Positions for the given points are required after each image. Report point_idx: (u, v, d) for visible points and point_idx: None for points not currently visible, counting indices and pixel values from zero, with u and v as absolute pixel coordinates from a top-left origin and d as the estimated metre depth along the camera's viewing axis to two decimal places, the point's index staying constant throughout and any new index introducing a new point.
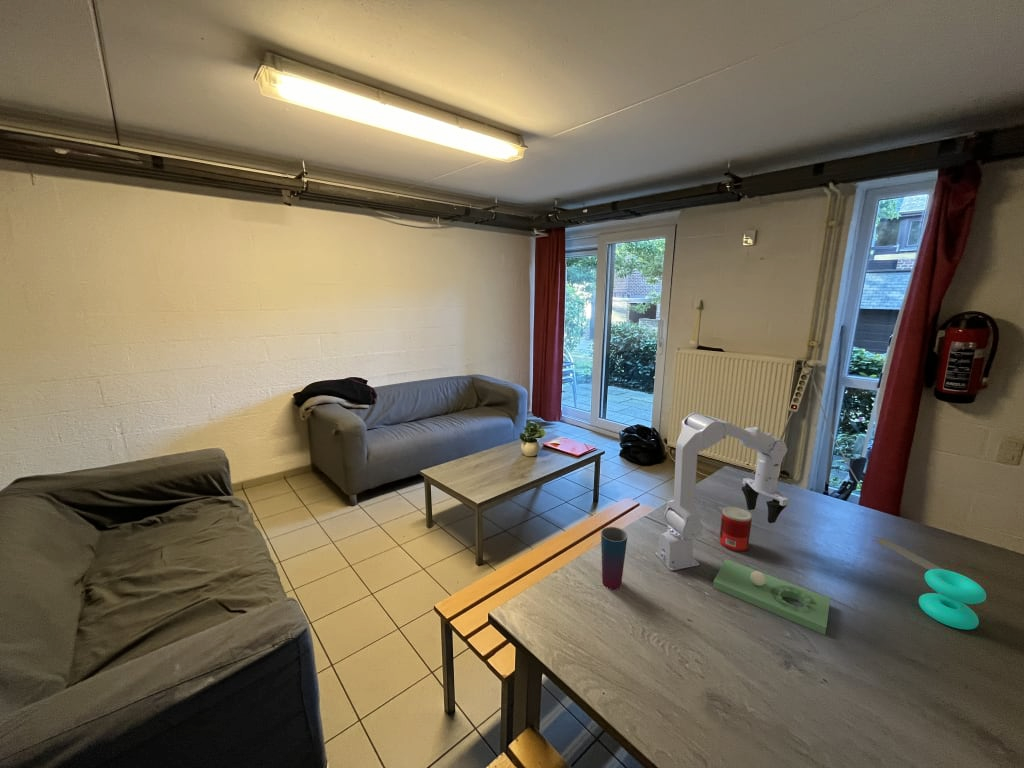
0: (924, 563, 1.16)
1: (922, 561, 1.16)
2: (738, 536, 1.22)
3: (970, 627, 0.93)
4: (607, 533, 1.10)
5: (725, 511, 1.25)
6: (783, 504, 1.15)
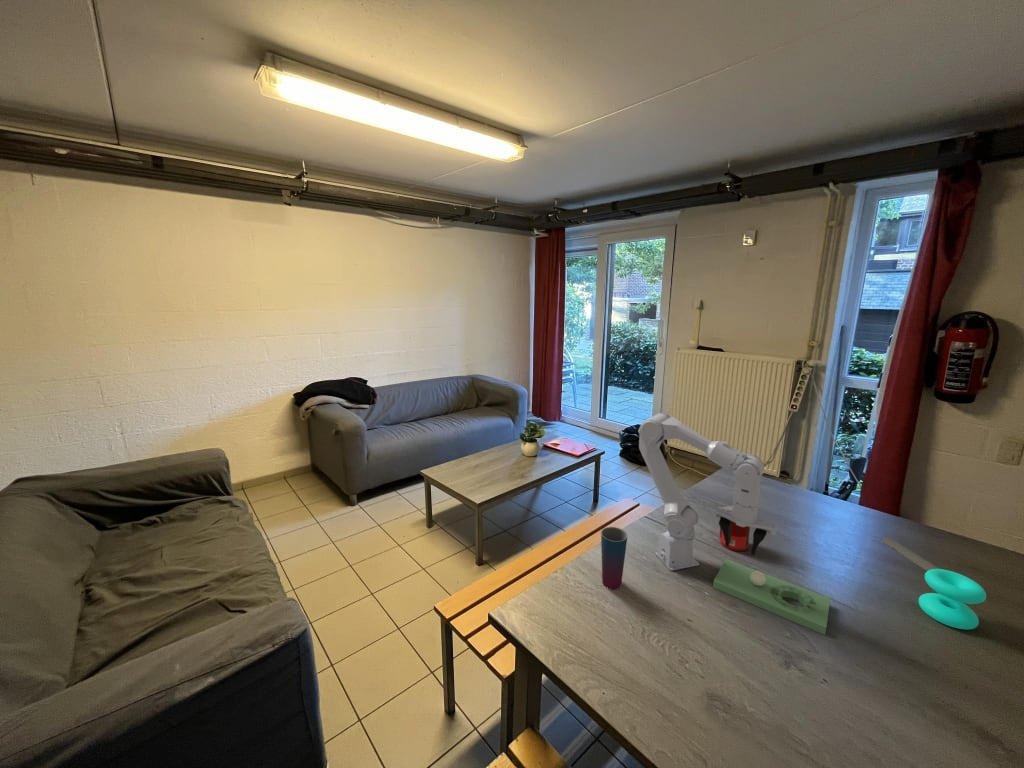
0: (922, 562, 1.16)
1: (920, 561, 1.16)
2: (737, 535, 1.22)
3: (970, 627, 0.93)
4: (607, 533, 1.10)
5: None
6: None
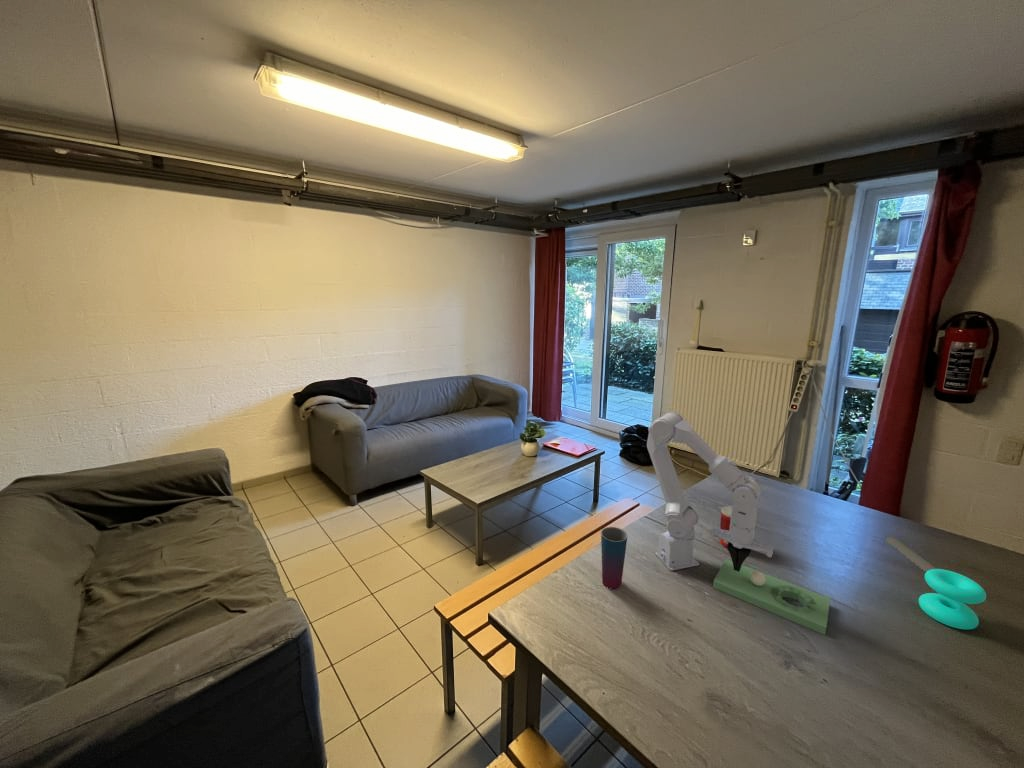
0: (920, 562, 1.16)
1: (919, 560, 1.17)
2: None
3: (970, 627, 0.93)
4: (607, 533, 1.10)
5: (724, 510, 1.26)
6: None
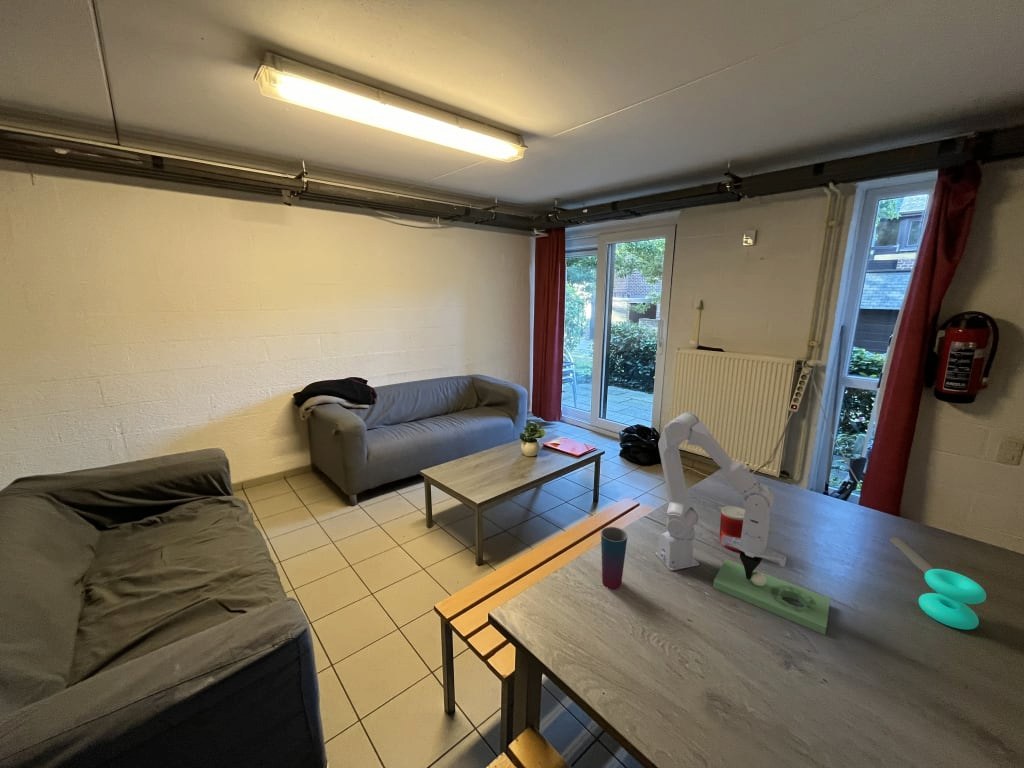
0: (918, 562, 1.16)
1: (918, 560, 1.17)
2: (736, 535, 1.22)
3: (970, 627, 0.93)
4: (607, 533, 1.10)
5: (724, 510, 1.26)
6: None
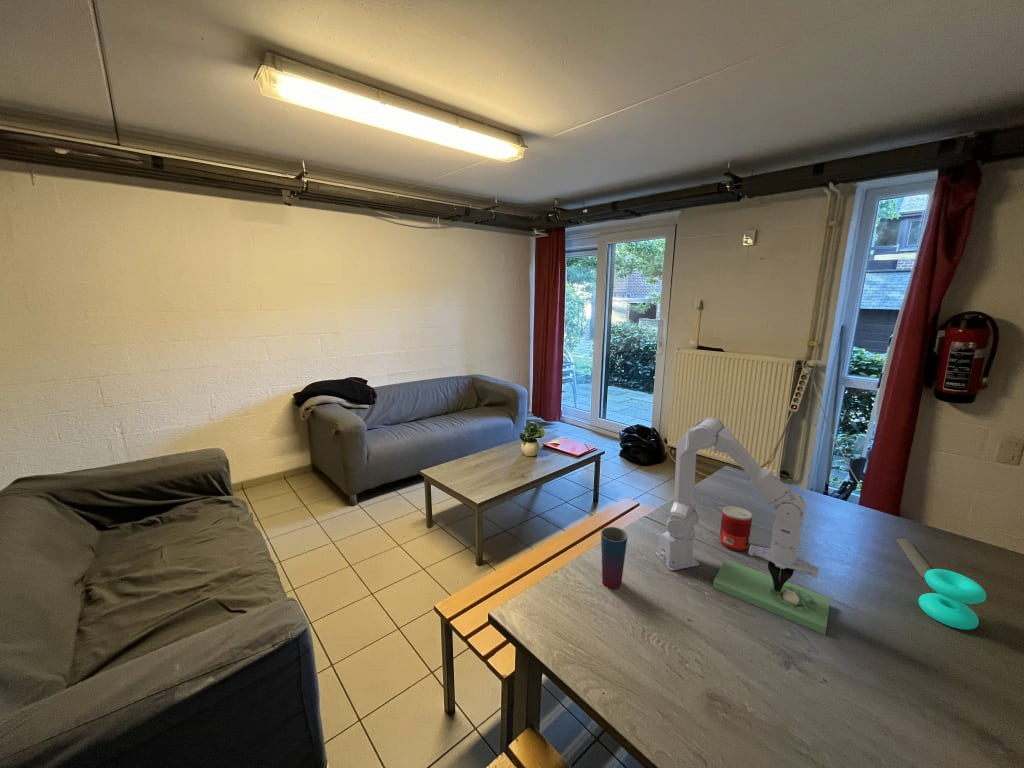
0: (915, 561, 1.17)
1: (916, 559, 1.17)
2: (736, 535, 1.22)
3: (970, 627, 0.93)
4: (607, 533, 1.10)
5: (725, 509, 1.26)
6: None
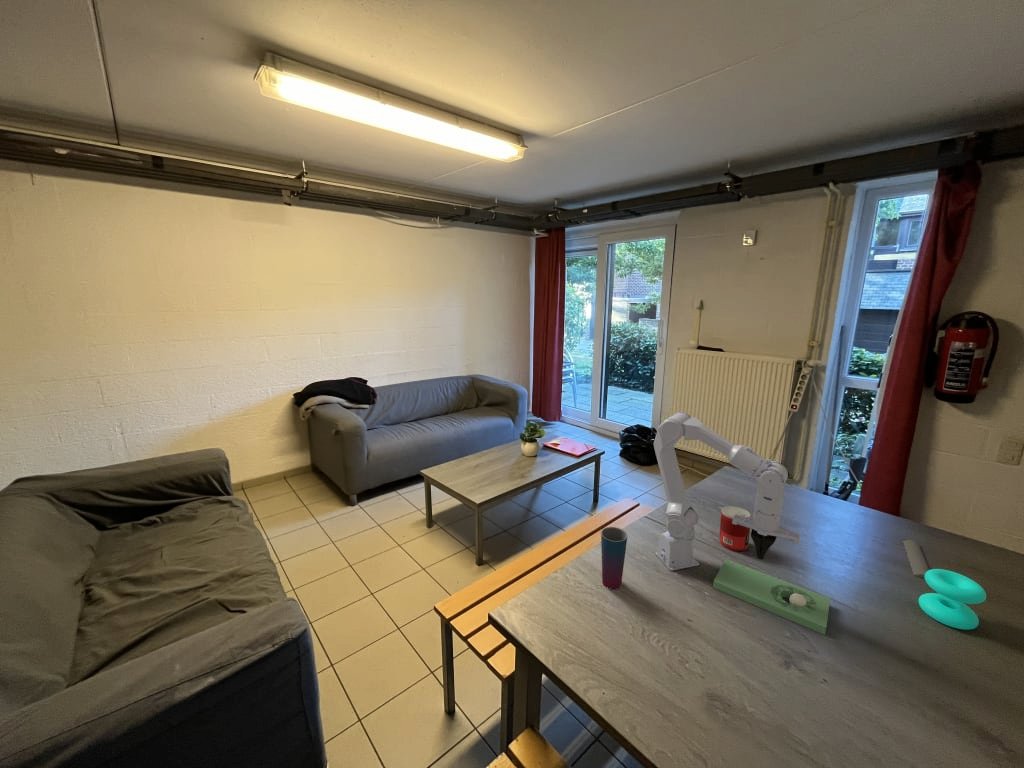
0: (913, 560, 1.17)
1: (914, 559, 1.17)
2: (735, 535, 1.22)
3: (970, 627, 0.93)
4: (607, 533, 1.10)
5: (724, 509, 1.26)
6: None
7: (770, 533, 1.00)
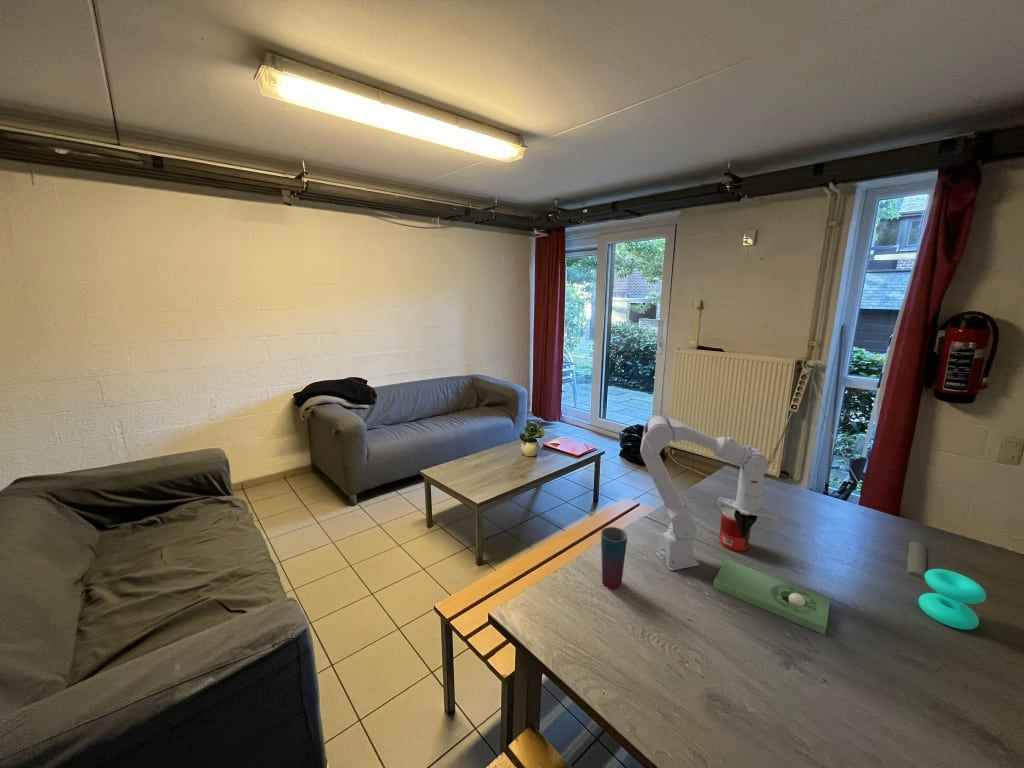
0: (911, 559, 1.17)
1: (913, 558, 1.18)
2: (735, 536, 1.22)
3: (970, 627, 0.93)
4: (607, 533, 1.10)
5: (725, 510, 1.26)
6: None
7: (751, 513, 1.08)
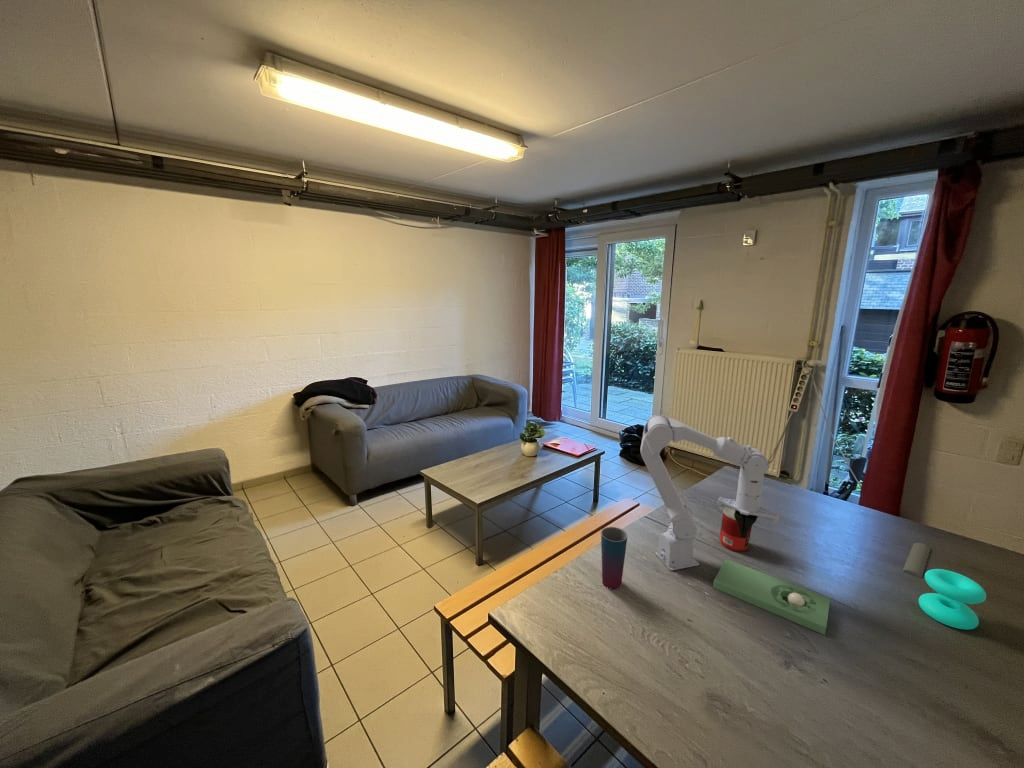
0: (911, 559, 1.18)
1: (912, 558, 1.18)
2: (735, 536, 1.22)
3: (970, 627, 0.93)
4: (607, 533, 1.10)
5: (726, 510, 1.26)
6: None
7: (751, 513, 1.08)
